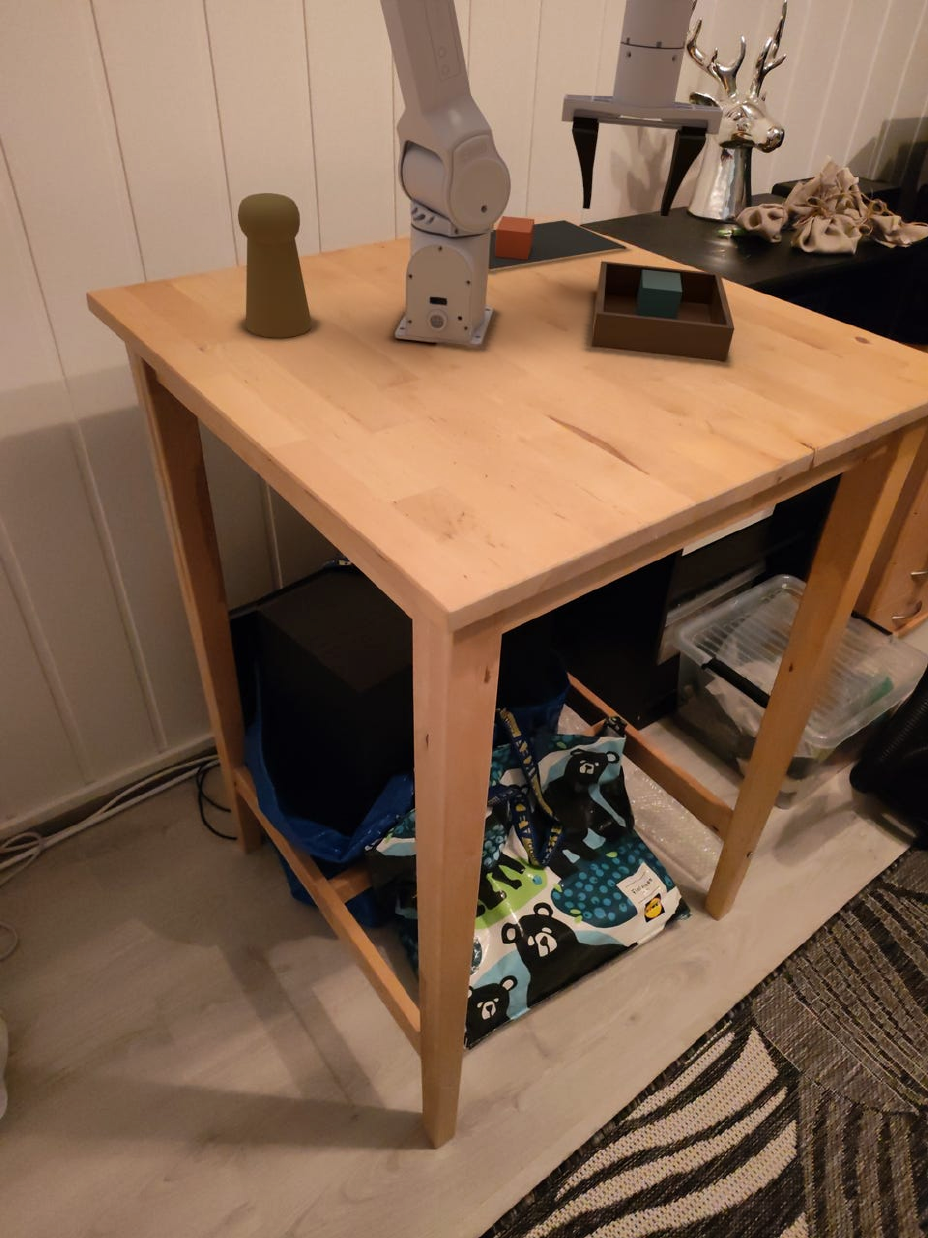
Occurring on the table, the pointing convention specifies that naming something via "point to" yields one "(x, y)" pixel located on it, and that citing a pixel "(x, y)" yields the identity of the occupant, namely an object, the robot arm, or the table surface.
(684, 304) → the brown open tray
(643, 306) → the block
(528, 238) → the block
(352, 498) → the table surface
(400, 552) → the table surface
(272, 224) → the cork
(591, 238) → the mat
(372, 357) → the table surface
